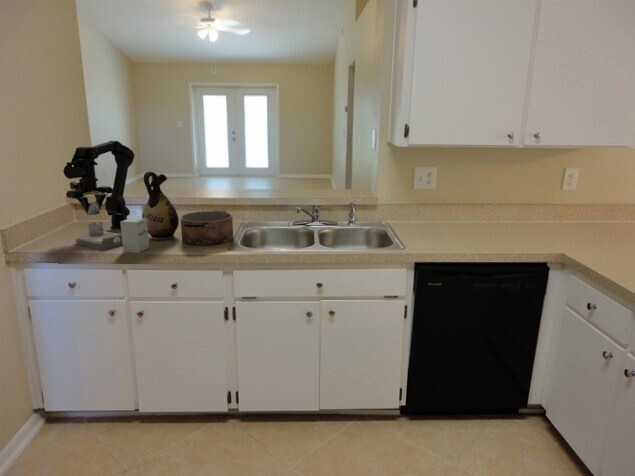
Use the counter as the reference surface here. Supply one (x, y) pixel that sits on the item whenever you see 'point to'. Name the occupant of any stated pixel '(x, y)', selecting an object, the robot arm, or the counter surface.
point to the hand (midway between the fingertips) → (92, 211)
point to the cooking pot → (207, 228)
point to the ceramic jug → (159, 209)
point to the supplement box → (134, 235)
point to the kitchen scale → (100, 240)
